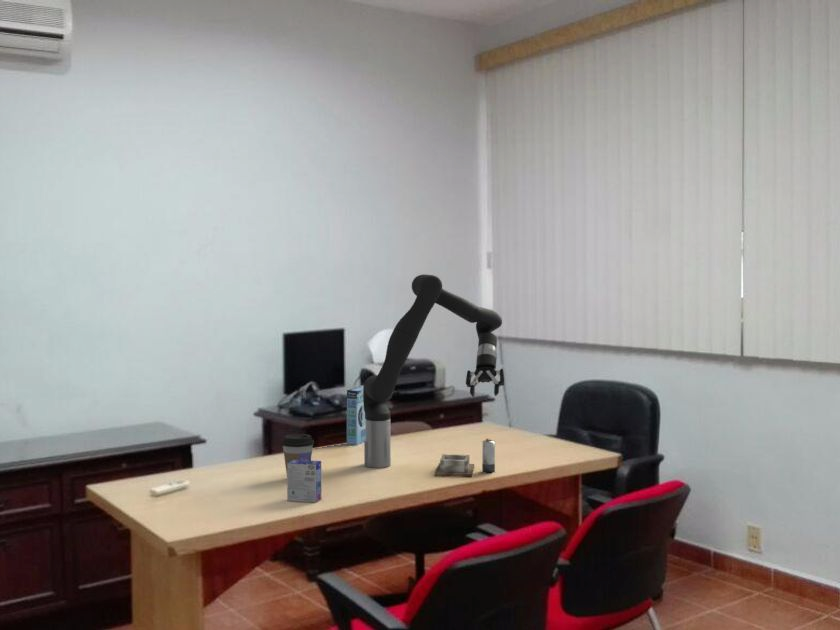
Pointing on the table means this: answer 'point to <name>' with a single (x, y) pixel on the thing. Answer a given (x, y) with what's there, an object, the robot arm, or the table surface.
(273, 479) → the table surface
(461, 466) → the cell holder
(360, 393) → the light blue carton
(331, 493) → the table surface
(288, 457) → the coffee cup
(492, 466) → the battery cell
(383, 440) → the robot arm
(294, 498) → the ink cartridge box
